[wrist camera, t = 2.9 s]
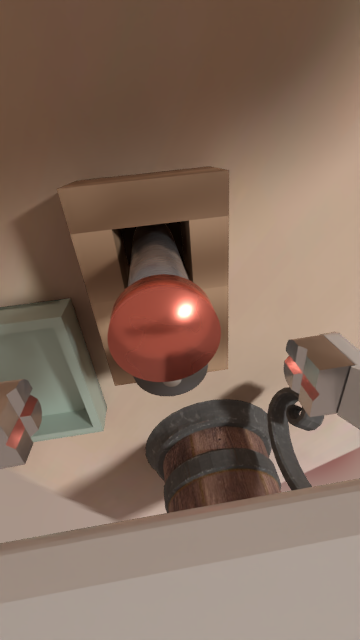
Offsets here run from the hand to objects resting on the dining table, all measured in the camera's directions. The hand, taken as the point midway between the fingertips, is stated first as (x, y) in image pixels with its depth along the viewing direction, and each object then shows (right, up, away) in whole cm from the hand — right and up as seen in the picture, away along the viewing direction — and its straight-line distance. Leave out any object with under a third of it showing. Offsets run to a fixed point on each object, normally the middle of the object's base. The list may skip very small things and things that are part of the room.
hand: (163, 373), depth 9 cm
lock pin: (-1, +8, +12) cm, 15 cm away
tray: (-14, -3, +17) cm, 22 cm away
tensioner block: (-1, +6, +13) cm, 15 cm away
